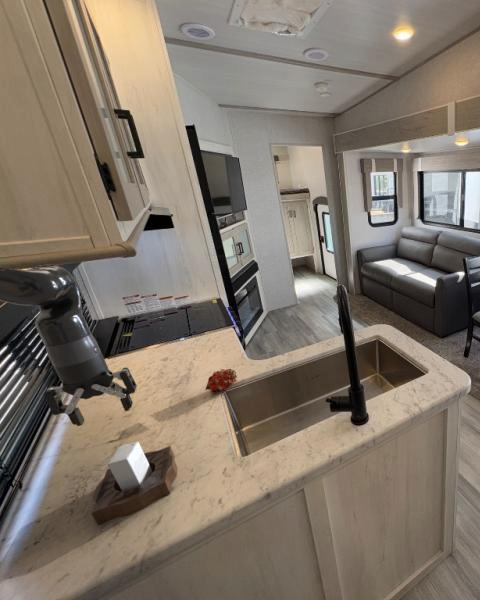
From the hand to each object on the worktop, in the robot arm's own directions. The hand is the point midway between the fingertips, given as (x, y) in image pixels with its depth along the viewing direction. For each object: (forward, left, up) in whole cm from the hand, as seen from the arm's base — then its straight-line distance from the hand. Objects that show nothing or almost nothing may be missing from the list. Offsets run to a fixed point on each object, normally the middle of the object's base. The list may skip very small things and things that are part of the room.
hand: (105, 416), depth 73 cm
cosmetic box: (0, 0, -23) cm, 23 cm away
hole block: (0, 0, -23) cm, 23 cm away
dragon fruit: (+21, +36, -23) cm, 47 cm away
